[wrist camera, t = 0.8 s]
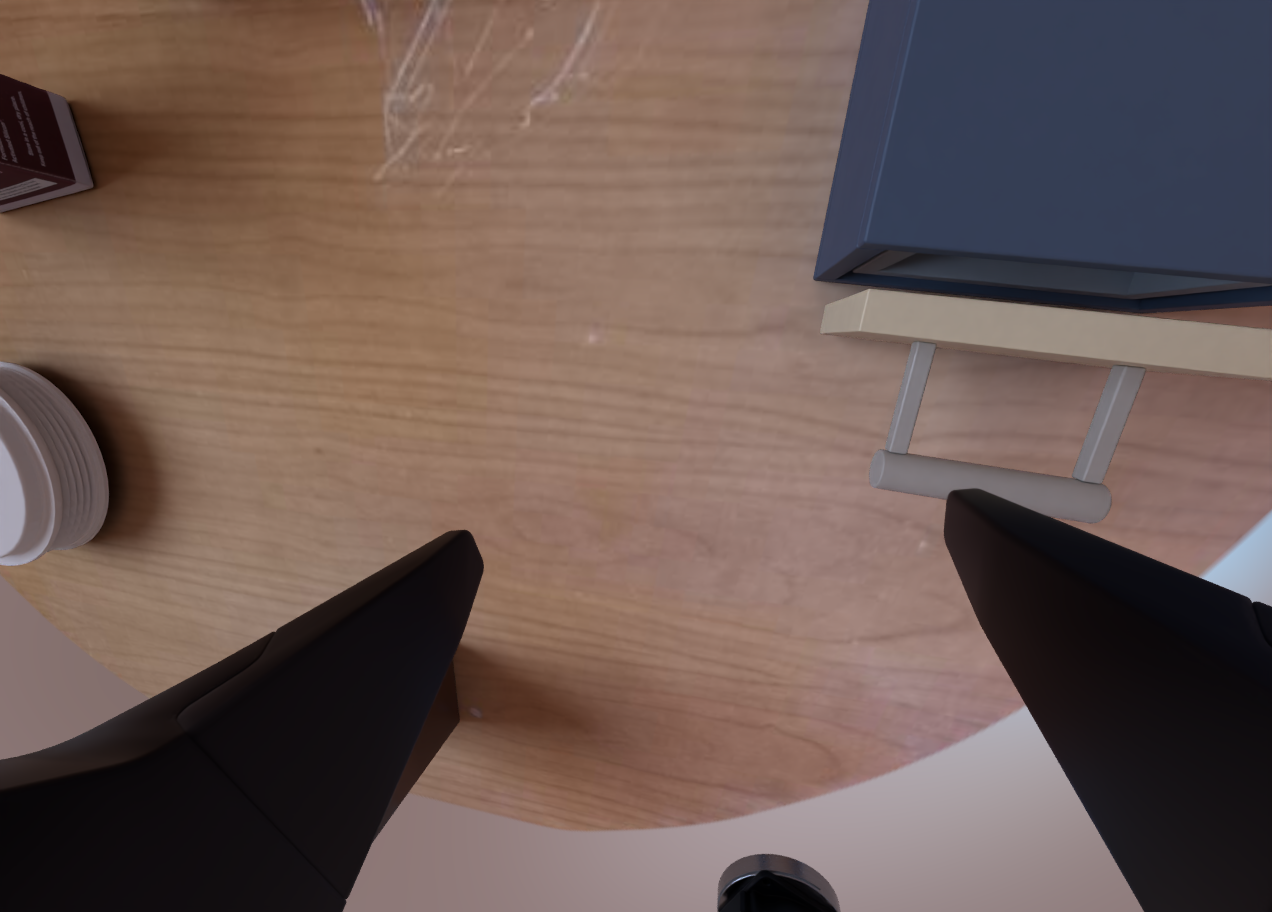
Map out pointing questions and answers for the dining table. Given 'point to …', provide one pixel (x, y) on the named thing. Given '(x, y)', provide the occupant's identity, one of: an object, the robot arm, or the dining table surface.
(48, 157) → the supplement box
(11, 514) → the grey round disc
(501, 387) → the dining table surface
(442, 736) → the stand
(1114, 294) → the drawer
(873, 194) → the cabinet
